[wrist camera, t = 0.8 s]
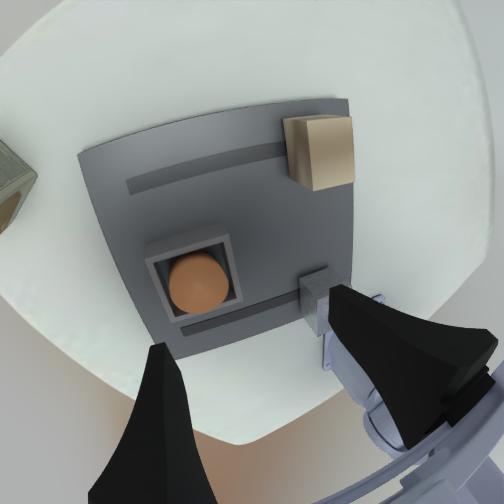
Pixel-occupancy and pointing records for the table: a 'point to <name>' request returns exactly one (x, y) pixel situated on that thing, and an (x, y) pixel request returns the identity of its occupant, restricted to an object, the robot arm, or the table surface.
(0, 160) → the skincare box
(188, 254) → the push button
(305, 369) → the table surface
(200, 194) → the control panel
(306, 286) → the steel slider
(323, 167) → the birch slider
